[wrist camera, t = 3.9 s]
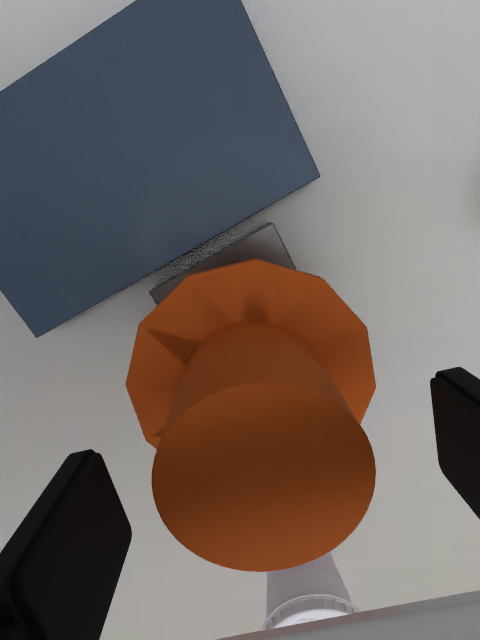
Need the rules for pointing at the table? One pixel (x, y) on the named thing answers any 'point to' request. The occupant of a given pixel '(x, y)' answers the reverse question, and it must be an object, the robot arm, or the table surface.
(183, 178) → the low stand
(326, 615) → the smoothie
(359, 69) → the table surface
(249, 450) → the hat
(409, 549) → the table surface
